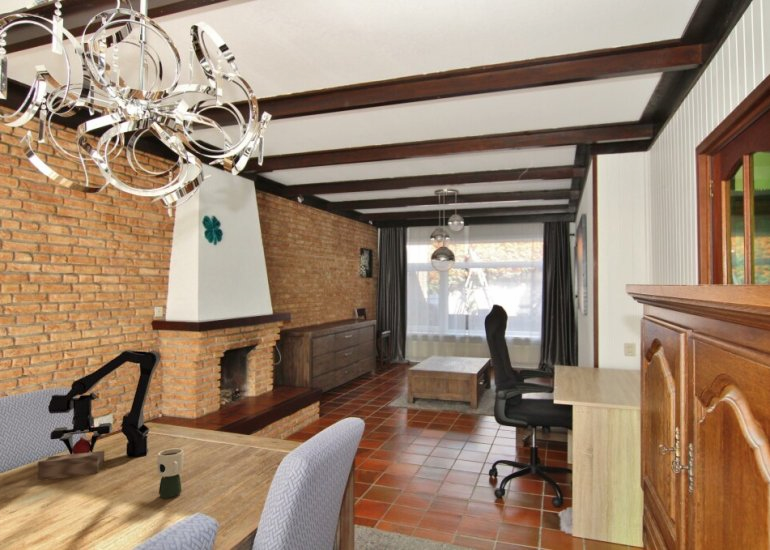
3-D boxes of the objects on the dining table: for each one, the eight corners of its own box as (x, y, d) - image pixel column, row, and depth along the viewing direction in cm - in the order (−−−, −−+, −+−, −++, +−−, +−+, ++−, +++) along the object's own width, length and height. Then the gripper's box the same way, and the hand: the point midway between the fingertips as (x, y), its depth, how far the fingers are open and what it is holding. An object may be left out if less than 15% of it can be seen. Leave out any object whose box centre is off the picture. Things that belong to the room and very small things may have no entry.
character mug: (152, 493, 143) (152, 450, 144) (176, 486, 148) (177, 445, 149) (162, 505, 135) (163, 459, 136) (188, 497, 140) (188, 453, 140)
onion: (94, 456, 177) (94, 434, 177) (83, 461, 171) (83, 439, 172) (80, 455, 178) (80, 434, 178) (68, 461, 172) (69, 439, 172)
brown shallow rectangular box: (104, 461, 171) (104, 444, 171) (97, 473, 160) (97, 455, 160) (48, 468, 165) (49, 451, 165) (37, 480, 154) (37, 462, 154)
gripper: (114, 404, 186) (114, 444, 185) (59, 409, 179) (58, 450, 179) (109, 411, 176) (108, 453, 175) (50, 416, 169) (49, 460, 168)
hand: (81, 454), depth 174 cm, fingers closed on onion, 6 cm apart
